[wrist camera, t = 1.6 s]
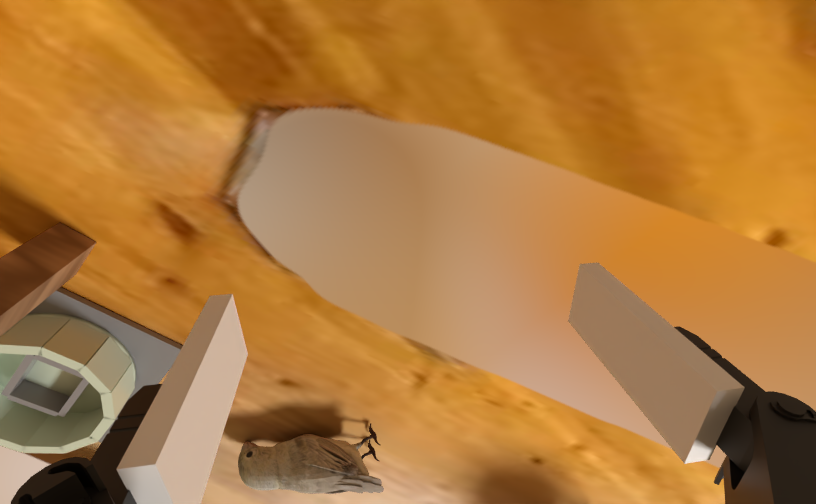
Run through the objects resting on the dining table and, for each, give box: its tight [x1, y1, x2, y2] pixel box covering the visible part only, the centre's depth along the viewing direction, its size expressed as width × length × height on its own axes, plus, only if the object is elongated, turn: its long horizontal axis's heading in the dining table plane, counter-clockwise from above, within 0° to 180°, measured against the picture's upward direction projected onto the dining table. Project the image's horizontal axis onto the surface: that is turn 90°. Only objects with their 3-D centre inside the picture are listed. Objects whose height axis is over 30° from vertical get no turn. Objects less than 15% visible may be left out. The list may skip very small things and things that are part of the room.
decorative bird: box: [238, 424, 384, 494], centre depth 46 cm, size 5×16×7 cm, turn 85°
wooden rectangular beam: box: [0, 223, 96, 336], centre depth 30 cm, size 3×4×12 cm
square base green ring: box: [0, 287, 183, 454], centre depth 38 cm, size 16×16×5 cm
